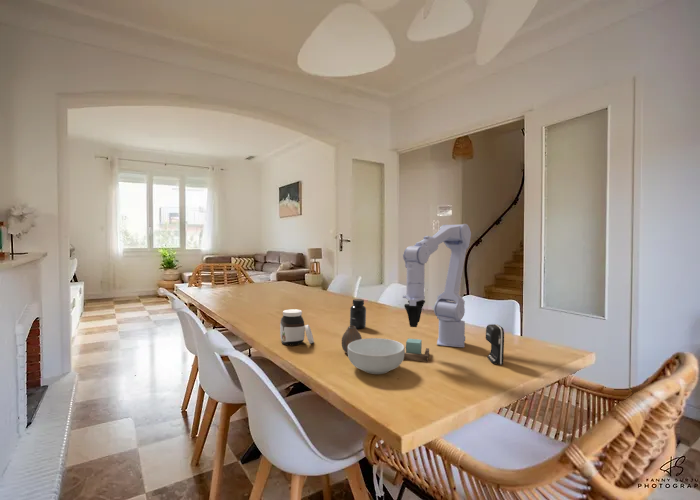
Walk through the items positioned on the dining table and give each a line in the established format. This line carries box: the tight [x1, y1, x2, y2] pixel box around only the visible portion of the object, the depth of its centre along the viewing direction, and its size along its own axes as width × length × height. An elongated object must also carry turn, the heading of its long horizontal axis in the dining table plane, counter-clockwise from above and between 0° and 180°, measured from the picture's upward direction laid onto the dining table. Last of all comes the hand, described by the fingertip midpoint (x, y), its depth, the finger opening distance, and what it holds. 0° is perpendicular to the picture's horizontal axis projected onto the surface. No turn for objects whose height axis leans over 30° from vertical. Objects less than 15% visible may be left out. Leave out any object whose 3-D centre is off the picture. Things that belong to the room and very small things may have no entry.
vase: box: [341, 325, 363, 355], centre depth 121 cm, size 7×7×9 cm
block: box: [405, 338, 423, 354], centre depth 118 cm, size 4×4×5 cm
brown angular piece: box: [403, 347, 430, 362], centre depth 119 cm, size 17×8×2 cm, turn 74°
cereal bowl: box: [347, 337, 406, 375], centre depth 105 cm, size 17×17×7 cm
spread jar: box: [279, 308, 315, 346], centre depth 132 cm, size 12×11×12 cm
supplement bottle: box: [349, 298, 367, 330], centre depth 155 cm, size 7×7×12 cm
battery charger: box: [485, 323, 505, 365], centre depth 113 cm, size 7×4×11 cm, turn 177°
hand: (414, 324), depth 118 cm, fingers open, 7 cm apart
